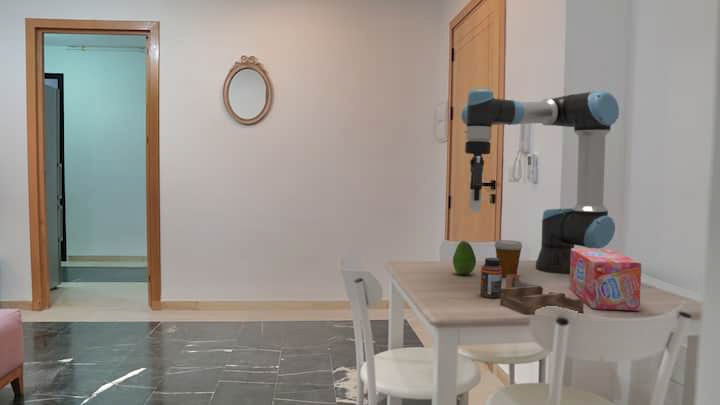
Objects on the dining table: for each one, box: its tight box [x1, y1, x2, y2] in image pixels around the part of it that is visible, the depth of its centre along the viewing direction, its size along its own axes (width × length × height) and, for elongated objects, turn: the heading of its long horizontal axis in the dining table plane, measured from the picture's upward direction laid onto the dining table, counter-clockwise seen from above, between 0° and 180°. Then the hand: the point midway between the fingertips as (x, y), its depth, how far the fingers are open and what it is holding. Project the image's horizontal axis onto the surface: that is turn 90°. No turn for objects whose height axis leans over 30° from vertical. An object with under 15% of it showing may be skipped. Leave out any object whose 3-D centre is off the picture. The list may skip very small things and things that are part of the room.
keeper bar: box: [505, 274, 544, 295], centre depth 165 cm, size 3×14×4 cm, turn 23°
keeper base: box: [499, 284, 585, 315], centre depth 149 cm, size 17×14×4 cm
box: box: [568, 247, 642, 312], centre depth 161 cm, size 27×13×14 cm, turn 172°
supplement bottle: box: [480, 257, 503, 299], centre depth 162 cm, size 6×6×11 cm
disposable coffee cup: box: [494, 239, 523, 278], centre depth 192 cm, size 10×10×12 cm
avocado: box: [452, 240, 477, 276], centre depth 192 cm, size 8×8×12 cm
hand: (474, 210), depth 169 cm, fingers open, 13 cm apart
